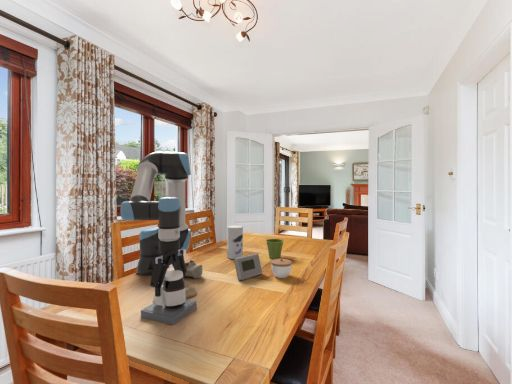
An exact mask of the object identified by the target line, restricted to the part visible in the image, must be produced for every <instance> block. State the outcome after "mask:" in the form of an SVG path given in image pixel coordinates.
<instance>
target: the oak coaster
mask: <svg viewBox="0 0 512 384" xmlns="http://www.w3.org/2000/svg"><path fill="white" fill-rule="evenodd" d="M197 294H198V290H197V289H196V288H194V287H187V286H185V295H186V299H187V300H188V299H191V298H193V297H195V296H196V295H197Z"/></svg>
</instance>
